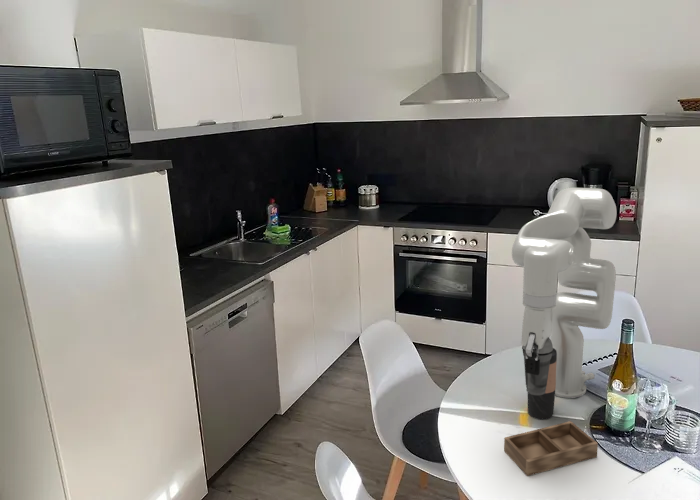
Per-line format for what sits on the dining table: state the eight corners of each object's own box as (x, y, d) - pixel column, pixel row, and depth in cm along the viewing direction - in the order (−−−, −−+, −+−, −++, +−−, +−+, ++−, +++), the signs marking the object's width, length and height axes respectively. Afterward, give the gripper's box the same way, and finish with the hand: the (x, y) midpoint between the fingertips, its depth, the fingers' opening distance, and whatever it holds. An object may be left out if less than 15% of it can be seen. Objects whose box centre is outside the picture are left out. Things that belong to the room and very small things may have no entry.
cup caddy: (569, 434, 152) (570, 421, 151) (596, 457, 142) (598, 443, 141) (504, 451, 147) (504, 437, 146) (527, 476, 137) (527, 461, 136)
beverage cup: (553, 399, 134) (557, 322, 128) (522, 397, 135) (524, 321, 130) (549, 383, 141) (552, 310, 135) (519, 382, 142) (521, 309, 137)
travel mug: (540, 423, 158) (543, 359, 152) (521, 410, 164) (522, 349, 159) (560, 415, 161) (563, 352, 156) (540, 403, 168) (542, 342, 162)
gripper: (533, 284, 140) (531, 349, 145) (512, 308, 126) (510, 379, 131) (564, 289, 136) (561, 355, 141) (545, 314, 122) (542, 386, 127)
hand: (536, 366), depth 136 cm, fingers closed on beverage cup, 6 cm apart
